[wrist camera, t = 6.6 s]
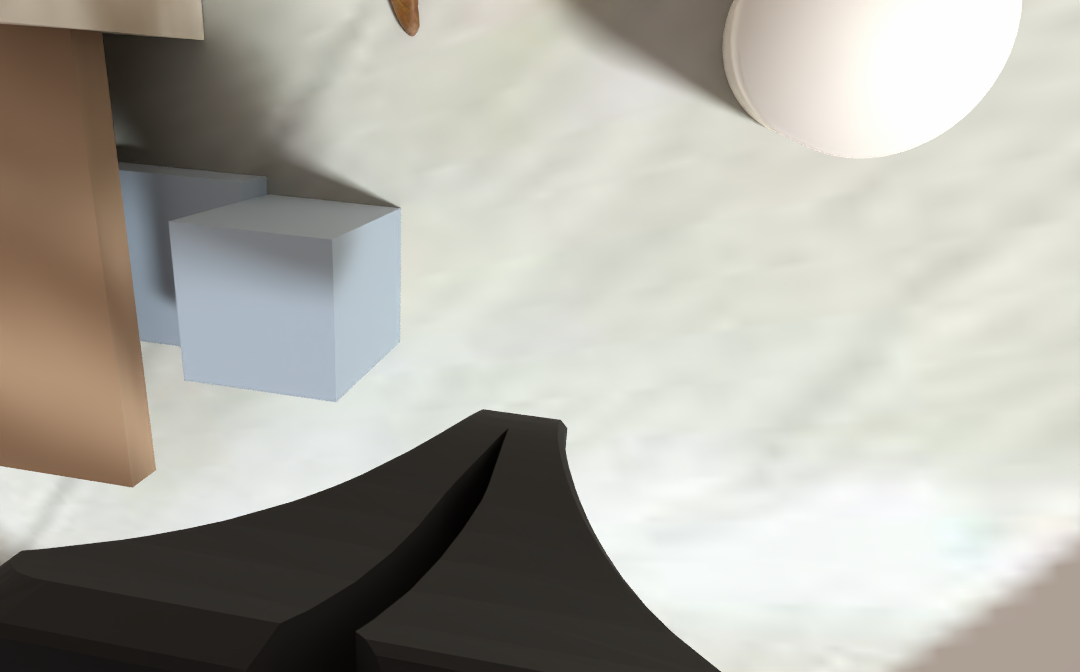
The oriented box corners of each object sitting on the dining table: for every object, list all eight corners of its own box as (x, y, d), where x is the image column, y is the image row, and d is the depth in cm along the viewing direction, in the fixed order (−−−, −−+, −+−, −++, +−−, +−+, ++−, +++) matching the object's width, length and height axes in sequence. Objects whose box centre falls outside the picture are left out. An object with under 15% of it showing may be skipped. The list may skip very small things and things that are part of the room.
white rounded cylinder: (899, 146, 18) (980, 168, 13) (709, 131, 19) (722, 147, 14) (948, -65, 16) (1059, -124, 12) (738, -74, 17) (763, -133, 12)
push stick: (400, 356, 22) (336, 420, 18) (-63, 295, 24) (-217, 339, 20) (401, 189, 20) (331, 217, 16) (-97, 140, 23) (-272, 152, 18)
